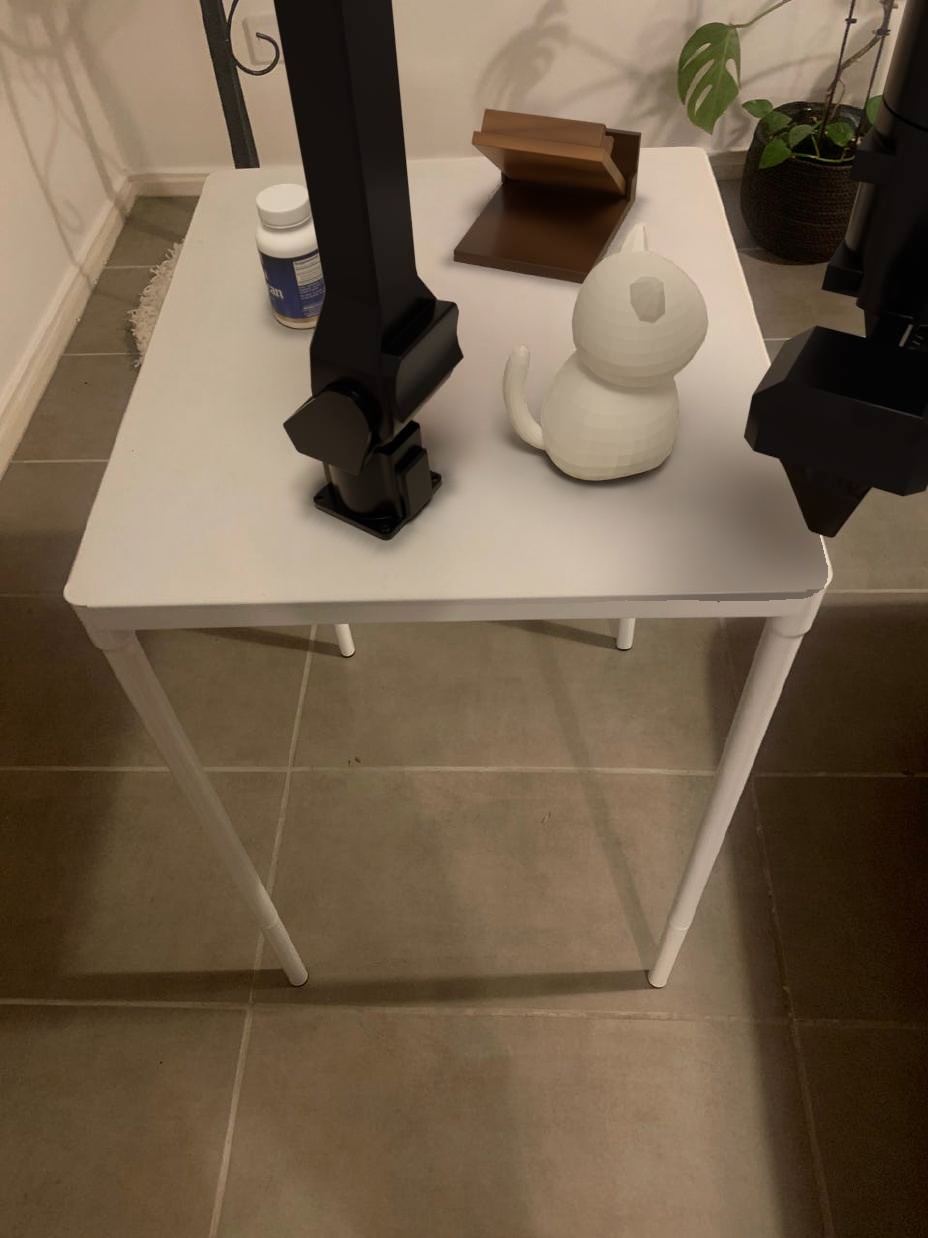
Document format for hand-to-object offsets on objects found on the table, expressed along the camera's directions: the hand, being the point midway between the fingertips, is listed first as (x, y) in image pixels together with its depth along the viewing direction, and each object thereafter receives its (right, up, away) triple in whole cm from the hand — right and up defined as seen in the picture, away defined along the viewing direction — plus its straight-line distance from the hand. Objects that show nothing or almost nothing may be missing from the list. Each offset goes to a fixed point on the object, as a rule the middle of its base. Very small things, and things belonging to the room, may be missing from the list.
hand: (854, 465), depth 42 cm
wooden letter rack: (-10, +31, +37) cm, 50 cm away
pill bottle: (-30, +18, +35) cm, 50 cm away
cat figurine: (-8, +4, +23) cm, 25 cm away
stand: (-10, +27, +41) cm, 50 cm away
